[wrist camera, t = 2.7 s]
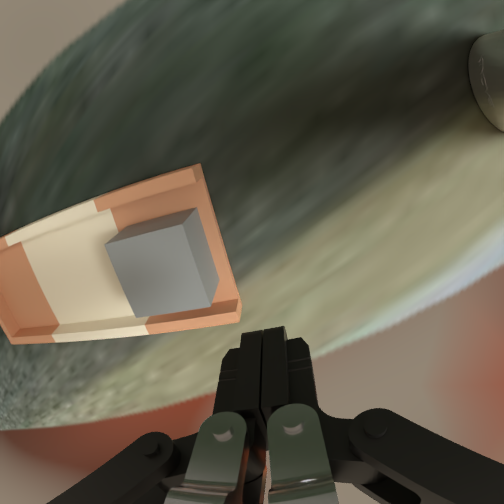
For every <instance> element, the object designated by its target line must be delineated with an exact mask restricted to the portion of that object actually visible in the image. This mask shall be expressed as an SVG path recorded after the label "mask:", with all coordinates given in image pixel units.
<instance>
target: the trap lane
mask: <svg viewBox="0 0 504 504" xmlns="http://www.w3.org/2000/svg"><path fill="white" fill-rule="evenodd" d="M195 207H197V209H198V212H199V216H200V219H201V222H202V225H203V229H204V232H205V235H206V238H207V242H208V245H209V248H210V251H211V254H212V257H213V261H214V264H215V267H216V270H217V273H218V276H219V279H220V280H219V283H218V286H217V289H216V292H215V295H214V298H213V301H212V305H211V307H207V308H200V309H194V310H188V311H181V312H175V313H168V314H161V315H155V316H148V317H140V318H136V317H135V315H134V313H133V311H132V308H131V306H130V304H129V302H128V300H127V298H126V295H125V293H124V291H123V289H122V286H121V284H120V282H119V280H118V277H117V275H116V273H115V270H114V268H113V265H112V263H111V261H110V258H109V256H108V253H107V251H106V248H105V246H104V244H106V243H107V242H108V241H109V240H110V239H112V238H113V237H114V236H115V235H117V234H118V233H119V232H120V231H122V230H123V229H124V228H125V227H127V226H129V225H132V224H136V223H139V222H143V221H147V220H150V219H154V218H157V217H161V216H165V215H169V214H172V213H176V212H180V211H184V210H188V209H191V208H195ZM241 309H242V302H241V299H240V296H239V293H238V290H237V286H236V283H235V280H234V276H233V273H232V270H231V267H230V263H229V260H228V257H227V253H226V250H225V247H224V243H223V240H222V236H221V233H220V230H219V226H218V223H217V220H216V216H215V213H214V209H213V206H212V202H211V199H210V195H209V192H208V188H207V185H206V181H205V178H204V174H203V171H202V167H201V164H200V163H199V164H195V165H192V166H188V167H185V168H181V169H178V170H175V171H171V172H168V173H165V174H161V175H158V176H155V177H152V178H149V179H146V180H143V181H140V182H137V183H134V184H131V185H128V186H125V187H122V188H119V189H116V190H113V191H111V192H108V193H105V194H102V195H100V196H97V197H94V198H91V199H89V200H86V201H84V202H81V203H78V204H76V205H73V206H71V207H68V208H66V209H63V210H61V211H58V212H56V213H54V214H51V215H49V216H46V217H44V218H42V219H39V220H37V221H35V222H32V223H30V224H28V225H26V226H24V227H21V228H19V229H17V230H15V231H13V232H10V233H8V234H6V235H4V236H2V237H0V325H1V327H2V329H3V330H4V332H5V334H6V335H7V337H8V339H9V340H10V342H11V344H36V343H55V342H71V341H85V340H98V339H109V338H120V337H130V336H139V335H148V334H157V333H166V332H174V331H181V330H189V329H196V328H203V327H210V326H217V325H224V324H230V323H237V322H240V315H241Z"/></svg>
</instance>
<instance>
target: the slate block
mask: <svg viewBox="0 0 504 504" xmlns="http://www.w3.org/2000/svg"><path fill="white" fill-rule="evenodd" d="M104 246H105V248H106V251H107V253H108V256H109V258H110V261H111V263H112V265H113V268H114V270H115V273H116V275H117V277H118V280H119V282H120V284H121V286H122V289H123V291H124V293H125V295H126V298H127V300H128V302H129V304H130V306H131V308H132V311H133V313H134V315H135V317H136V318H140V317H148V316H155V315H161V314H168V313H175V312H181V311H188V310H194V309H200V308H207V307H211V305H212V301H213V298H214V295H215V292H216V289H217V286H218V283H219V280H220V279H219V276H218V273H217V270H216V267H215V264H214V261H213V257H212V254H211V251H210V248H209V245H208V242H207V238H206V235H205V232H204V229H203V225H202V222H201V219H200V216H199V212H198V209H197V207H195V208H191V209H188V210H184V211H180V212H176V213H172V214H169V215H165V216H161V217H157V218H154V219H150V220H147V221H143V222H139V223H136V224H132V225H129V226H127V227H125V228H124V229H123V230H122V231H120V232H119V233H118V234H117V235H115V236H114V237H113V238H112V239H110V240H109V241H108V242H107V243H106V244H104Z"/></svg>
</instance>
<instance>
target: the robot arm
mask: <svg viewBox="0 0 504 504" xmlns="http://www.w3.org/2000/svg"><path fill="white" fill-rule="evenodd" d="M469 77H470V83H471V86H472V90H473V93H474V96H475V98H476V100H477V103H478V105H479V106H480V108H481V110H482V112H483V113H484V115H485V116H486V117H487V119H488V120H489V121H490V122H491V123H492V124H493V125H494V126H495V127H496V128H498V129H499V130H501V131H503V132H504V30H500V31H496V32H493V33H489V34H486V35H483V36H481V37H479V38H478V39H477V40H476V41H475V42H474V44H473V46H472V48H471V50H470V55H469ZM220 371H221V373H220V375H219V382H218V387H217V392H216V398H215V404H214V409H213V414H212V416H210V417H209V418H207V419H206V420H205V421H204V422H203V423H202V425H201V426H200V429H199V432H197V433H195V434H192V435H189V436H186V437H182V438H179V439H176V440H171V438H170V437H169V436H168V435H166V434H164V433H161V432H151V433H147V434H145V435H143V436H141V437H140V438H138V439H137V440H136V441H135V442H133V443H132V444H130V445H129V446H128V447H126V448H125V449H124V450H123V451H121V452H120V453H118V454H117V455H116V456H114V457H113V458H112V459H110V460H109V461H108V462H106V463H105V464H104V465H102V466H101V467H100V468H98V469H97V470H95V471H94V472H92V473H91V474H90V475H88V476H87V477H85V478H84V479H82V480H81V481H80V482H78V483H77V484H75V485H74V486H72V487H71V488H69V489H68V490H66V491H65V492H64V493H62V494H60V495H59V496H57V497H56V498H54V499H53V500H51V501H50V502H48V503H47V504H263V503H264V495H265V487H266V478H267V466H266V451H267V450H269V460H270V471H271V489H270V490H269V493H268V504H339V501H338V497H337V492H336V488H335V483H334V482H342V483H352V484H353V485H354V486H355V487H357V488H358V489H359V490H361V491H362V492H364V493H365V494H367V495H368V496H369V497H371V498H373V499H374V500H376V501H378V502H379V503H380V504H504V464H502V463H499V462H497V461H494V460H492V459H490V458H487V457H485V456H483V455H481V454H478V453H476V452H474V451H472V450H470V449H467V448H465V447H463V446H461V445H459V444H457V443H454V442H452V441H450V440H448V439H446V438H444V437H442V436H440V435H438V434H435V433H433V432H431V431H429V430H427V429H425V428H423V427H421V426H419V425H417V424H416V423H413V422H411V421H410V420H408V419H406V418H404V417H402V416H400V415H398V414H396V413H394V412H392V411H390V410H387V409H382V408H375V409H370V410H367V411H364V412H362V413H361V414H359V415H358V416H356V417H355V418H354V419H341V418H335V417H331V416H329V415H327V414H325V413H324V412H323V411H322V410H321V409H320V408H319V406H318V400H317V394H316V386H315V379H314V374H313V367H312V362H311V356H310V351H309V346H308V344H307V343H306V342H305V341H304V340H303V339H302V338H301V337H300V338H295V339H289V340H288V339H287V334H286V330H285V327H284V326H281V327H276V328H270V329H264V330H259V331H253V332H247V333H242V335H241V343H240V348H234V349H230V350H229V351H228V352H227V354H226V355H225V357H224V358H223V359H222V364H221V370H220Z"/></svg>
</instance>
